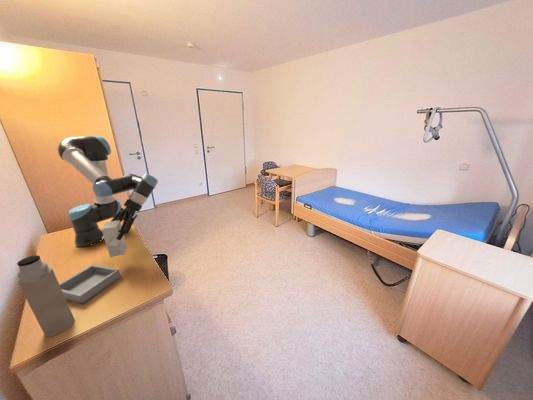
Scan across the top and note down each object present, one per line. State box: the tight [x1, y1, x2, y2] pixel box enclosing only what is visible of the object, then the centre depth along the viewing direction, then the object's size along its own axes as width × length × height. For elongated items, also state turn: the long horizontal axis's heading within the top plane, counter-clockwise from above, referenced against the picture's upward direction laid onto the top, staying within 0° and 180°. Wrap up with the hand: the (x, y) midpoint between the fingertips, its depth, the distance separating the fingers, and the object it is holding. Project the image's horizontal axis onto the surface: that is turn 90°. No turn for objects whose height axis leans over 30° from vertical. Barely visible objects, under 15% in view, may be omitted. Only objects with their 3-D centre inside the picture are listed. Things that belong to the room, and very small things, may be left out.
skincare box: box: [100, 220, 128, 258], centre depth 104 cm, size 8×7×16 cm
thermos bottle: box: [16, 255, 75, 337], centre depth 71 cm, size 8×8×28 cm
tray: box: [59, 264, 122, 306], centre depth 95 cm, size 17×17×4 cm
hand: (108, 242), depth 102 cm, fingers closed on skincare box, 10 cm apart
